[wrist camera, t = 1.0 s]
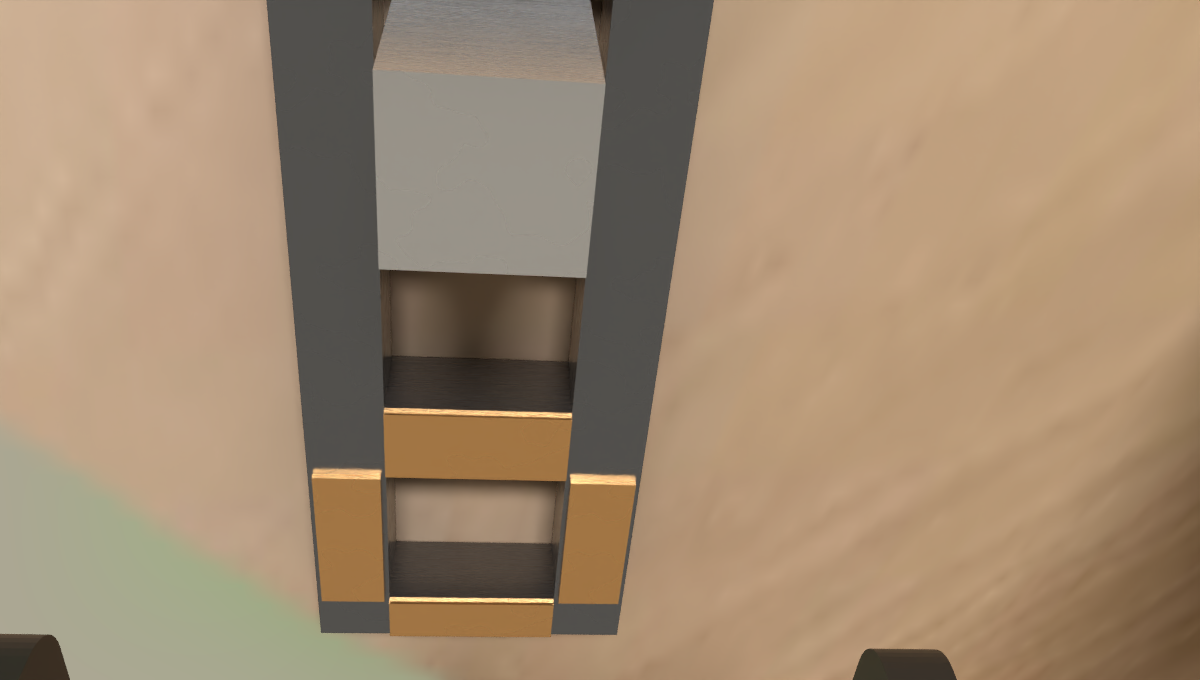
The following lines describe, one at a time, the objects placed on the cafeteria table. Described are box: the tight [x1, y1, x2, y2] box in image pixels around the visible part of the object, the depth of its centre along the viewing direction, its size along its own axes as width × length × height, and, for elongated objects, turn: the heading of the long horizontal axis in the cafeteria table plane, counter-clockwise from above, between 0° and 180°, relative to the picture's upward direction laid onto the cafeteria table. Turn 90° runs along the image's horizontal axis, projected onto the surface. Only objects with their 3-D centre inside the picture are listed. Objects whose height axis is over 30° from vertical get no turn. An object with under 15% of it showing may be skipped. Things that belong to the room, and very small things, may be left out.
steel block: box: [373, 0, 606, 278], centre depth 23 cm, size 4×4×9 cm
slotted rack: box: [267, 0, 714, 637], centre depth 31 cm, size 10×25×3 cm, turn 175°
